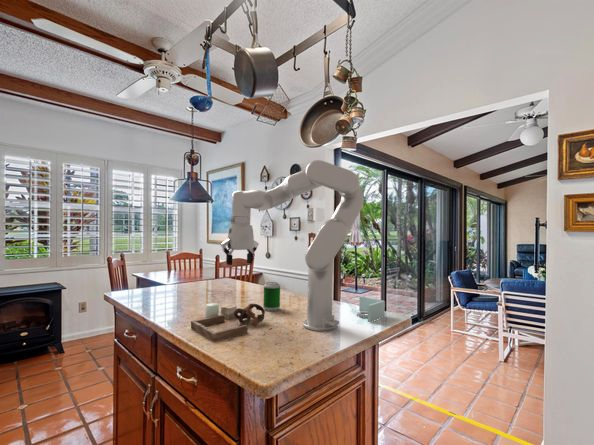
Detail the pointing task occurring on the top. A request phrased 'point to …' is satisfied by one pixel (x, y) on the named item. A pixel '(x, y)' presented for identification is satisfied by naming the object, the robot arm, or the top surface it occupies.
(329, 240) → the robot arm
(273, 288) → the soda can
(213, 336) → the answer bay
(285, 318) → the top surface
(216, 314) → the pale green capsule
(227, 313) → the birch block
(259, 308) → the pottery mug
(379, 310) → the l-shaped corner panel
